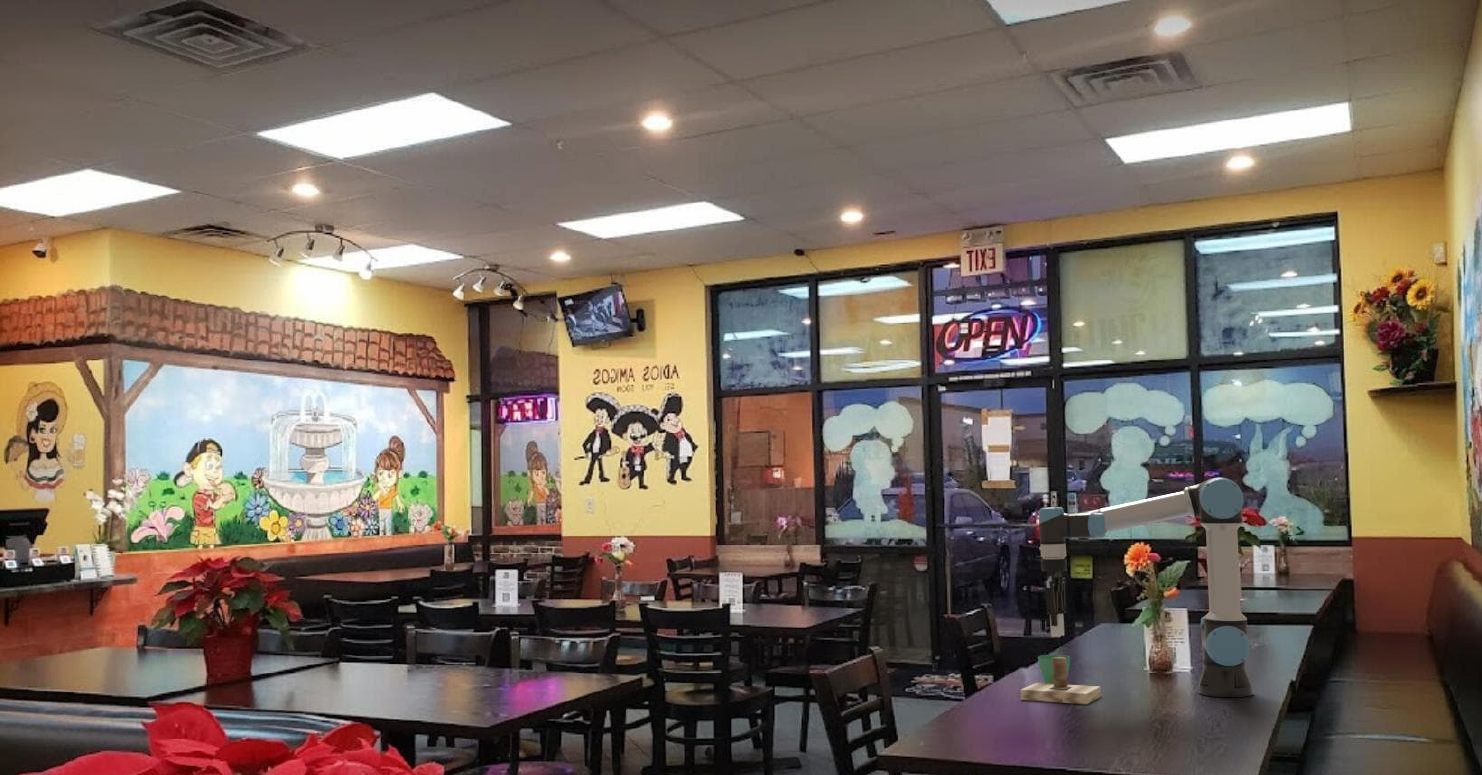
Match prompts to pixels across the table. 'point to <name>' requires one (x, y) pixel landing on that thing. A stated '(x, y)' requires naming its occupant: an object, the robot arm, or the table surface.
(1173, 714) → the table surface
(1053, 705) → the table surface
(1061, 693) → the board
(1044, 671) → the mug
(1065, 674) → the peg
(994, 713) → the table surface
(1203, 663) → the robot arm
